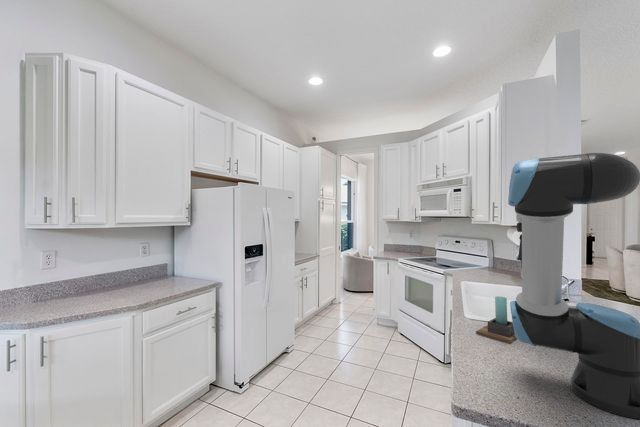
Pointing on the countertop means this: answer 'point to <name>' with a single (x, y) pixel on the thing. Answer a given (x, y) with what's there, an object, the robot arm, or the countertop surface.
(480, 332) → the bracket board
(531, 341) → the robot arm
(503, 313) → the dowel
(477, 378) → the countertop surface
